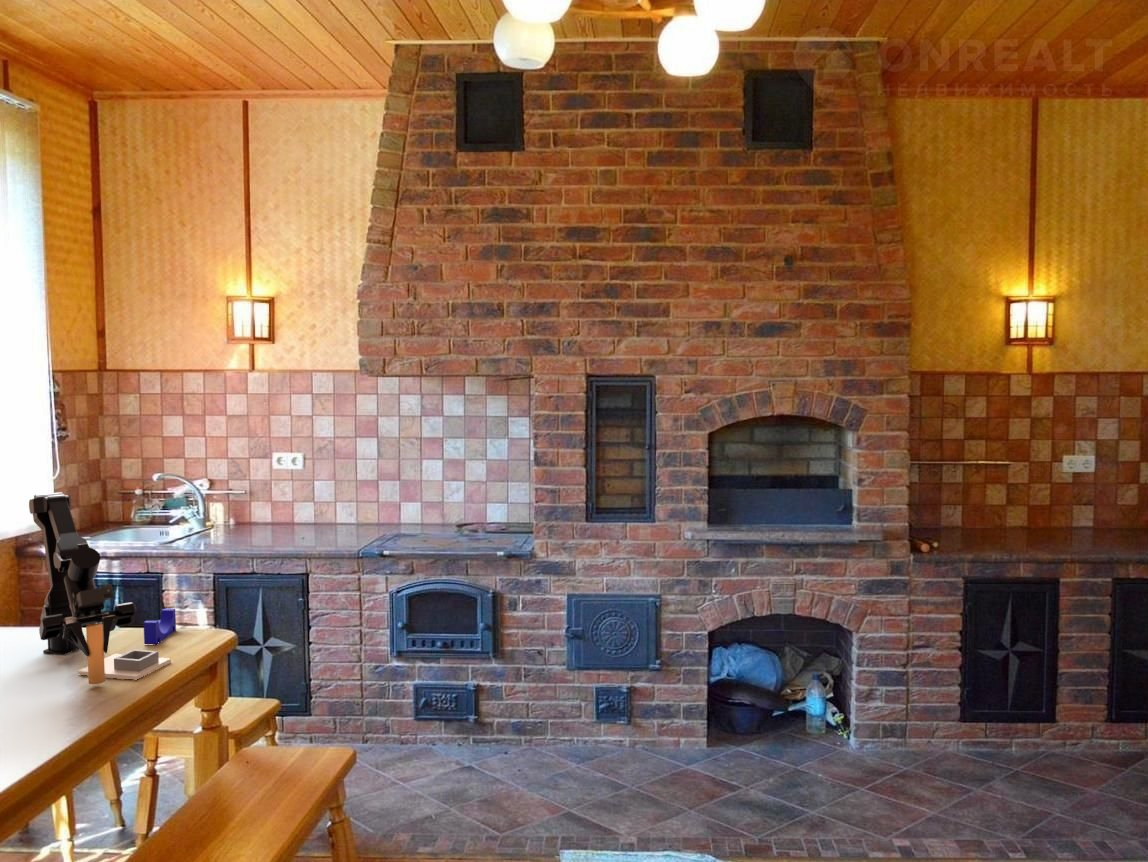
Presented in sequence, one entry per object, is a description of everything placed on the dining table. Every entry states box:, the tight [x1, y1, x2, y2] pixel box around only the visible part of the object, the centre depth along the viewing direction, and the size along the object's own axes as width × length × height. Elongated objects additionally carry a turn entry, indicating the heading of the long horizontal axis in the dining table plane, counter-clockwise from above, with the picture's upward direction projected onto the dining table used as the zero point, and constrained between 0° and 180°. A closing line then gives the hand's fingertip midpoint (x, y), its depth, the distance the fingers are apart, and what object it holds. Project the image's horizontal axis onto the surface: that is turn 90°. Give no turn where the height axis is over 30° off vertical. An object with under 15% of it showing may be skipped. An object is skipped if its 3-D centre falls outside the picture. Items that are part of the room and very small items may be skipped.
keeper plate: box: [77, 648, 172, 681], centre depth 214 cm, size 15×12×4 cm
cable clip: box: [143, 608, 177, 646], centre depth 236 cm, size 12×4×6 cm, turn 1°
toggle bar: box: [85, 623, 106, 685], centre depth 202 cm, size 3×3×12 cm
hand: (97, 653), depth 201 cm, fingers closed on toggle bar, 3 cm apart
